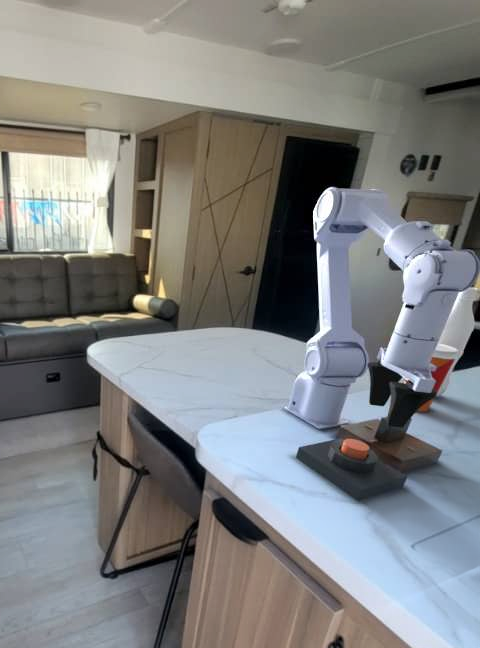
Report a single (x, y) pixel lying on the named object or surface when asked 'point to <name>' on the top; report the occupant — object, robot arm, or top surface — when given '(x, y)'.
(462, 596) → the top surface
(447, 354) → the paper cup
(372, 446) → the panel
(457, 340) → the water bottle
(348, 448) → the orange push button
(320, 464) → the grey button base plate
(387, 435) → the lock knob
